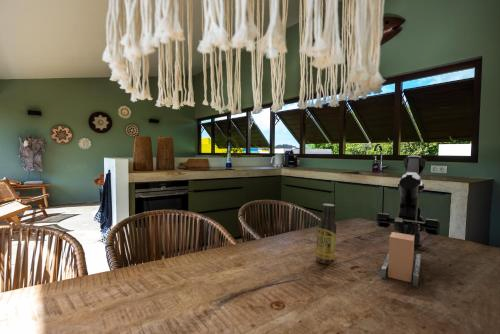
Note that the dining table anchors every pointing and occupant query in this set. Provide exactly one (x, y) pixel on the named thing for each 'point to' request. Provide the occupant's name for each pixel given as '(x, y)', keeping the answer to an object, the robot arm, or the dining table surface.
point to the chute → (415, 274)
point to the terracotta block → (401, 256)
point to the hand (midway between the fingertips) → (404, 245)
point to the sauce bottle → (326, 236)
